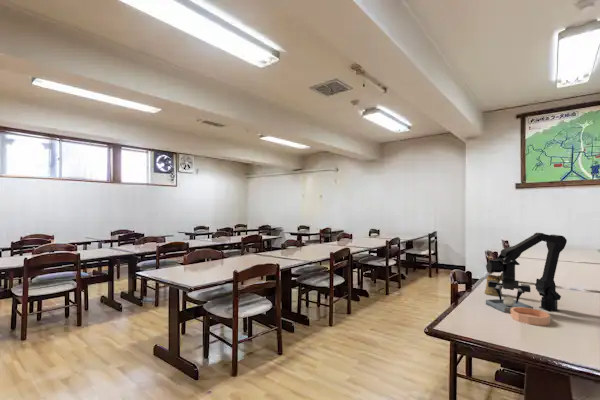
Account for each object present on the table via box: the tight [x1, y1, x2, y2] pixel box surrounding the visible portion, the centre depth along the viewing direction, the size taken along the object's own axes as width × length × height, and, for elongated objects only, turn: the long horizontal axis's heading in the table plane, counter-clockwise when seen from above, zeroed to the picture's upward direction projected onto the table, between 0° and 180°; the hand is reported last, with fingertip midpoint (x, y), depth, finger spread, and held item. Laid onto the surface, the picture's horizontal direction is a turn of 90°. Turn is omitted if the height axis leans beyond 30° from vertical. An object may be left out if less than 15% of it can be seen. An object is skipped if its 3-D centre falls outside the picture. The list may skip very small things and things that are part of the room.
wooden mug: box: [484, 272, 503, 297], centre depth 196 cm, size 9×14×18 cm, turn 38°
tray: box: [485, 298, 534, 314], centre depth 171 cm, size 16×14×2 cm
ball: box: [503, 296, 515, 306], centre depth 171 cm, size 5×5×5 cm
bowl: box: [509, 307, 551, 326], centre depth 154 cm, size 15×15×4 cm
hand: (508, 302), depth 171 cm, fingers open, 7 cm apart
